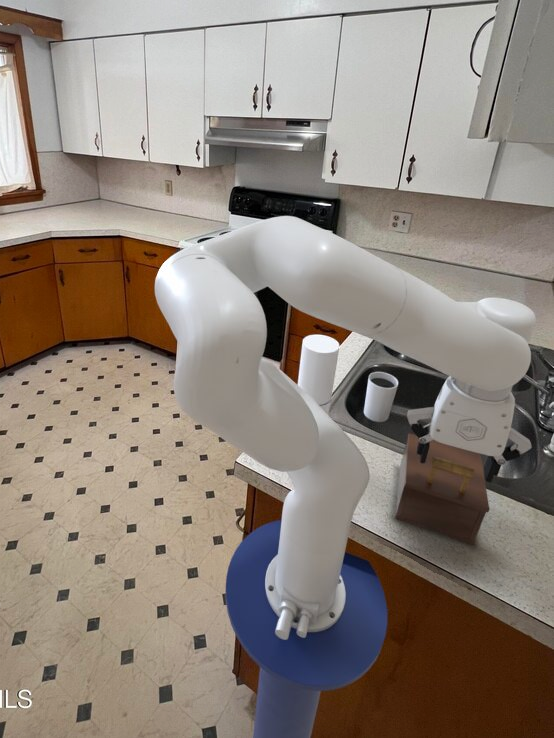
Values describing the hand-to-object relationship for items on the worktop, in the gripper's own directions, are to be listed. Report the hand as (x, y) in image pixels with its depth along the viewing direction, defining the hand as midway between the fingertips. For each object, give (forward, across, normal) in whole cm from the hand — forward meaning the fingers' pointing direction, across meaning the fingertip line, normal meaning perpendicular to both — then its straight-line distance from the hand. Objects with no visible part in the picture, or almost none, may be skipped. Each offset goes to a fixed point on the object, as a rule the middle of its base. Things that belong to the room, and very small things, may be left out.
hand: (453, 466), depth 70 cm
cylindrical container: (+14, -26, +11) cm, 32 cm away
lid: (+5, 0, +4) cm, 7 cm away
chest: (+14, 0, +5) cm, 15 cm away
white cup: (+14, -13, +27) cm, 33 cm away
